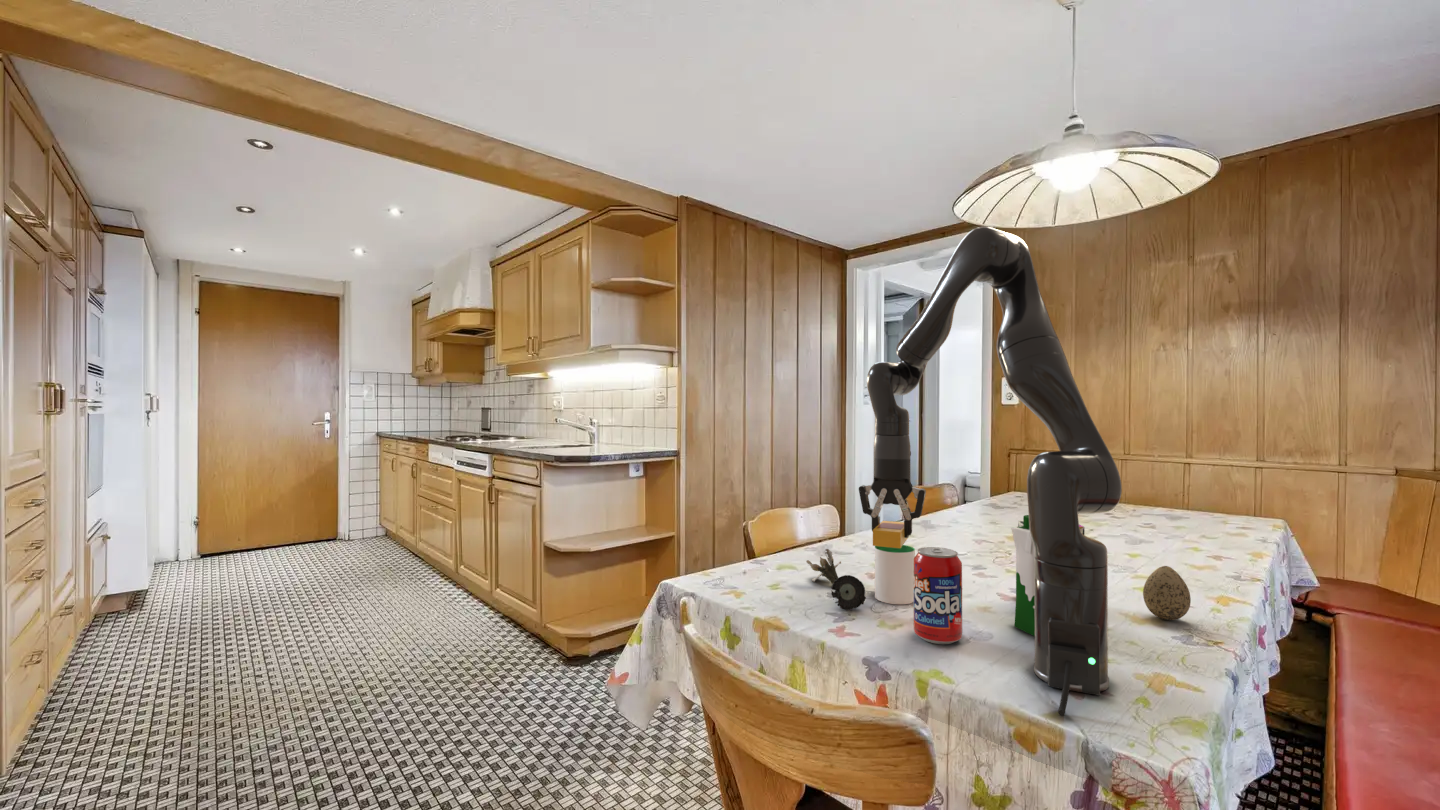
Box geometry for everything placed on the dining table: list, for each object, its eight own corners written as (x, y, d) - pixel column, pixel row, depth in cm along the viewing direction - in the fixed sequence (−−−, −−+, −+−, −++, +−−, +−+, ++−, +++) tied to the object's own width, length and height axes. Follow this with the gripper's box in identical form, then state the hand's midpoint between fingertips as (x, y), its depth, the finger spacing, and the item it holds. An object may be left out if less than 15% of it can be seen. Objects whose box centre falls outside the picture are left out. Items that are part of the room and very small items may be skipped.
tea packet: (900, 548, 119) (900, 532, 119) (872, 545, 121) (872, 529, 121) (908, 537, 130) (908, 522, 130) (882, 534, 132) (882, 520, 132)
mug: (865, 586, 132) (865, 539, 132) (901, 586, 132) (901, 539, 132) (881, 604, 120) (881, 552, 120) (920, 604, 120) (920, 552, 120)
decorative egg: (1137, 611, 116) (1137, 560, 116) (1180, 615, 114) (1180, 562, 114) (1151, 623, 109) (1151, 569, 109) (1198, 628, 107) (1197, 572, 107)
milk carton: (1045, 621, 110) (1045, 513, 110) (1087, 639, 102) (1087, 522, 102) (1006, 625, 108) (1005, 515, 108) (1045, 644, 99) (1045, 525, 99)
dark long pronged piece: (826, 617, 116) (811, 566, 117) (814, 595, 138) (802, 552, 140) (870, 605, 116) (855, 554, 117) (851, 584, 138) (839, 542, 139)
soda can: (959, 632, 105) (959, 547, 105) (965, 649, 97) (964, 557, 97) (912, 627, 107) (912, 544, 107) (914, 644, 99) (914, 554, 99)
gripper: (854, 456, 126) (854, 536, 126) (925, 458, 120) (925, 543, 119) (861, 453, 132) (861, 529, 132) (929, 456, 126) (929, 535, 126)
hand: (891, 535), depth 126 cm, fingers closed on tea packet, 5 cm apart
